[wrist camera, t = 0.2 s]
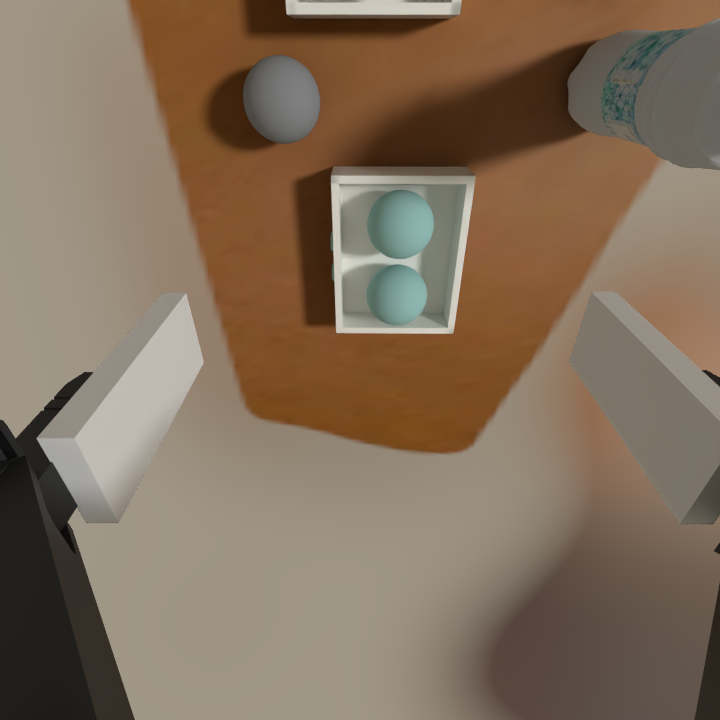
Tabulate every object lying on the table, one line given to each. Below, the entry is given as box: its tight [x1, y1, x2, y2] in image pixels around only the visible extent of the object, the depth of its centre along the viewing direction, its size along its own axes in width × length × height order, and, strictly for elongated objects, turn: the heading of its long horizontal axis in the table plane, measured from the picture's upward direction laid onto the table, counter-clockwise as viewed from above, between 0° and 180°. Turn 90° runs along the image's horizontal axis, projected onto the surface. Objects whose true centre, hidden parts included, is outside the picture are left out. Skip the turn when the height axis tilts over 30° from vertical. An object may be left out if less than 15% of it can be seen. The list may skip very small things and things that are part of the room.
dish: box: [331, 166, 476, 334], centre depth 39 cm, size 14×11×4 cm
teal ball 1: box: [367, 190, 434, 259], centre depth 36 cm, size 6×6×6 cm
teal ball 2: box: [366, 264, 427, 325], centre depth 40 cm, size 6×6×6 cm
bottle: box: [567, 18, 720, 170], centre depth 25 cm, size 7×7×20 cm
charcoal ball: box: [243, 55, 320, 144], centre depth 32 cm, size 6×6×6 cm
